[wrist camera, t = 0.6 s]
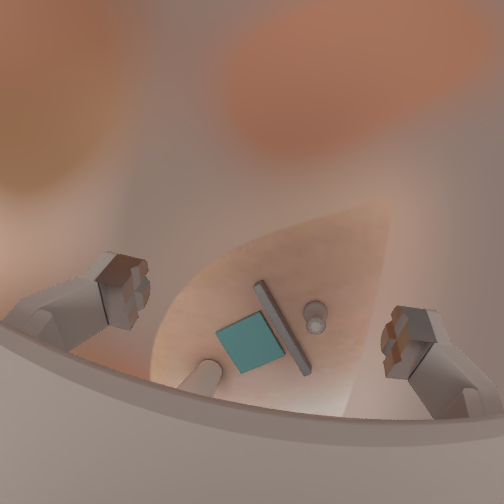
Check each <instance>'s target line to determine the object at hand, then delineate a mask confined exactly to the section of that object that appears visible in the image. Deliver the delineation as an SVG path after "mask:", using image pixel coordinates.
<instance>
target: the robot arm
mask: <svg viewBox="0 0 504 504" xmlns="http://www.w3.org/2000/svg"><path fill="white" fill-rule="evenodd" d="M148 270H149V269H148V263H147V261H146V260H144V259H139V258H135V257H131V256H127V255H123V254H117V253H113V252H109V251H107V252H104V253H103V254H102V255H101V256H100V257H99V258H98V259H97V260H96V261H95V262H94V263H93V265H92V266H91V267H90V268H89V269H88V270H87V271H86V272H85V273H84V274H83V276H82V277H75V278H73V279H70V280H67V281H65V282H62V283H60V284H57V285H55V286H52V287H50V288H47V289H45V290H42V291H40V292H38V293H35V294H33V295H30V296H28V297H26V298H23V299H21V300H20V301H19V302H18V304H17V305H16V306H15V307H14V308H13V309H12V310H11V311H10V312H9V314H8V315H7V316H6V317H5V318H4V319H3V320H2V321H0V504H504V409H503V405H502V402H501V399H500V396H499V393H498V390H497V387H496V386H495V385H494V384H493V383H492V382H491V381H490V380H489V378H487V377H486V375H485V374H484V373H483V372H481V370H480V369H479V368H478V367H477V366H476V365H474V363H473V362H472V361H470V360H469V359H468V358H467V357H466V356H465V355H464V354H463V353H462V352H461V351H460V350H459V349H458V348H457V347H456V346H455V345H451V344H450V341H449V338H448V336H447V333H446V330H445V328H444V325H443V323H442V320H441V318H440V315H439V313H438V312H437V311H436V310H431V309H418V308H411V307H405V306H396V307H395V308H394V310H393V312H392V314H391V316H392V321H390V322H389V323H387V324H386V326H385V328H384V330H383V332H382V336H381V351H382V353H383V354H384V355H385V356H386V358H385V360H384V362H383V363H384V369H385V376H386V378H394V379H405V380H408V382H409V383H410V385H411V386H412V388H413V389H414V391H415V392H416V394H417V395H418V396H419V398H420V399H421V401H422V402H423V404H424V405H425V407H426V408H427V410H428V411H429V413H430V414H431V416H432V417H433V419H434V420H379V419H359V418H344V417H332V416H322V415H313V414H304V413H296V412H289V411H282V410H275V409H269V408H263V407H257V406H251V405H246V404H241V403H236V402H231V401H226V400H221V399H217V398H212V397H208V396H203V395H199V394H195V393H191V392H187V391H183V390H180V389H176V388H172V387H169V386H165V385H162V384H158V383H155V382H151V381H148V380H145V379H141V378H138V377H135V376H132V375H129V374H126V373H123V372H120V371H117V370H114V369H111V368H108V367H106V366H103V365H100V364H97V363H94V362H92V361H89V360H86V359H84V358H82V357H79V356H77V355H74V354H72V353H69V351H70V350H72V349H73V348H75V347H77V346H78V345H80V344H81V343H83V342H84V341H86V340H87V339H89V338H90V337H92V336H94V335H95V334H97V333H98V332H100V331H102V330H103V329H105V328H106V327H108V325H111V326H114V327H117V328H122V329H125V330H129V331H131V329H132V328H133V326H134V324H135V323H136V321H137V319H138V318H139V316H138V311H140V310H141V309H143V308H145V306H146V304H147V302H148V299H149V295H150V281H149V280H148V279H147V277H146V276H145V275H146V274H147V273H148Z"/></svg>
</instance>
